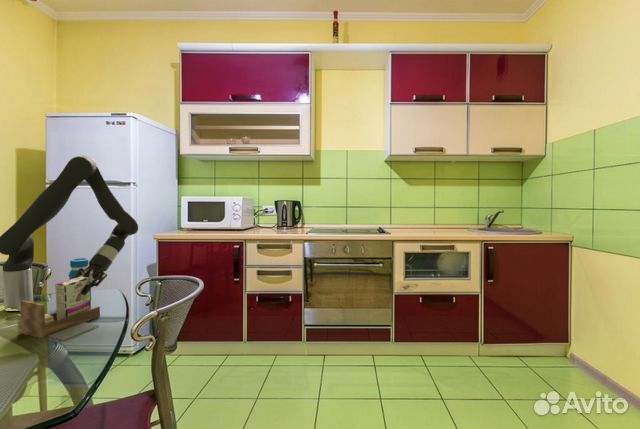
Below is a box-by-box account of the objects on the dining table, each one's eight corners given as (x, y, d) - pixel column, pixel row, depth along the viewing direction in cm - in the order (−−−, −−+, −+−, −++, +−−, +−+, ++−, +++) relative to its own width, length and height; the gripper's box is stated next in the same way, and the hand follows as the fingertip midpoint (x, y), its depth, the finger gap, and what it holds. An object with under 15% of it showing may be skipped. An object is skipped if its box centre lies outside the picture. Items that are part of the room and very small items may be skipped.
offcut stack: (31, 333, 124) (31, 318, 124) (46, 327, 129) (46, 313, 128) (41, 335, 122) (41, 321, 122) (56, 330, 127) (56, 316, 127)
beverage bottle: (68, 307, 150) (66, 262, 148) (70, 301, 157) (69, 258, 155) (91, 304, 154) (89, 260, 152) (92, 298, 161) (91, 256, 160)
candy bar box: (81, 314, 142) (80, 275, 140) (91, 316, 141) (91, 277, 140) (55, 325, 131) (54, 283, 130) (66, 326, 130) (65, 284, 129)
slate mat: (48, 337, 121) (48, 335, 121) (83, 323, 134) (83, 322, 134) (64, 341, 119) (64, 339, 119) (99, 326, 131) (98, 325, 131)
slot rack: (21, 333, 124) (20, 301, 123) (81, 312, 144) (80, 284, 143) (42, 338, 120) (41, 305, 119) (100, 316, 141) (100, 288, 140)
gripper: (85, 251, 147) (57, 286, 136) (110, 254, 142) (83, 291, 132) (97, 261, 152) (71, 295, 142) (122, 264, 147) (96, 300, 137)
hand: (77, 293), depth 137 cm, fingers closed on candy bar box, 5 cm apart
